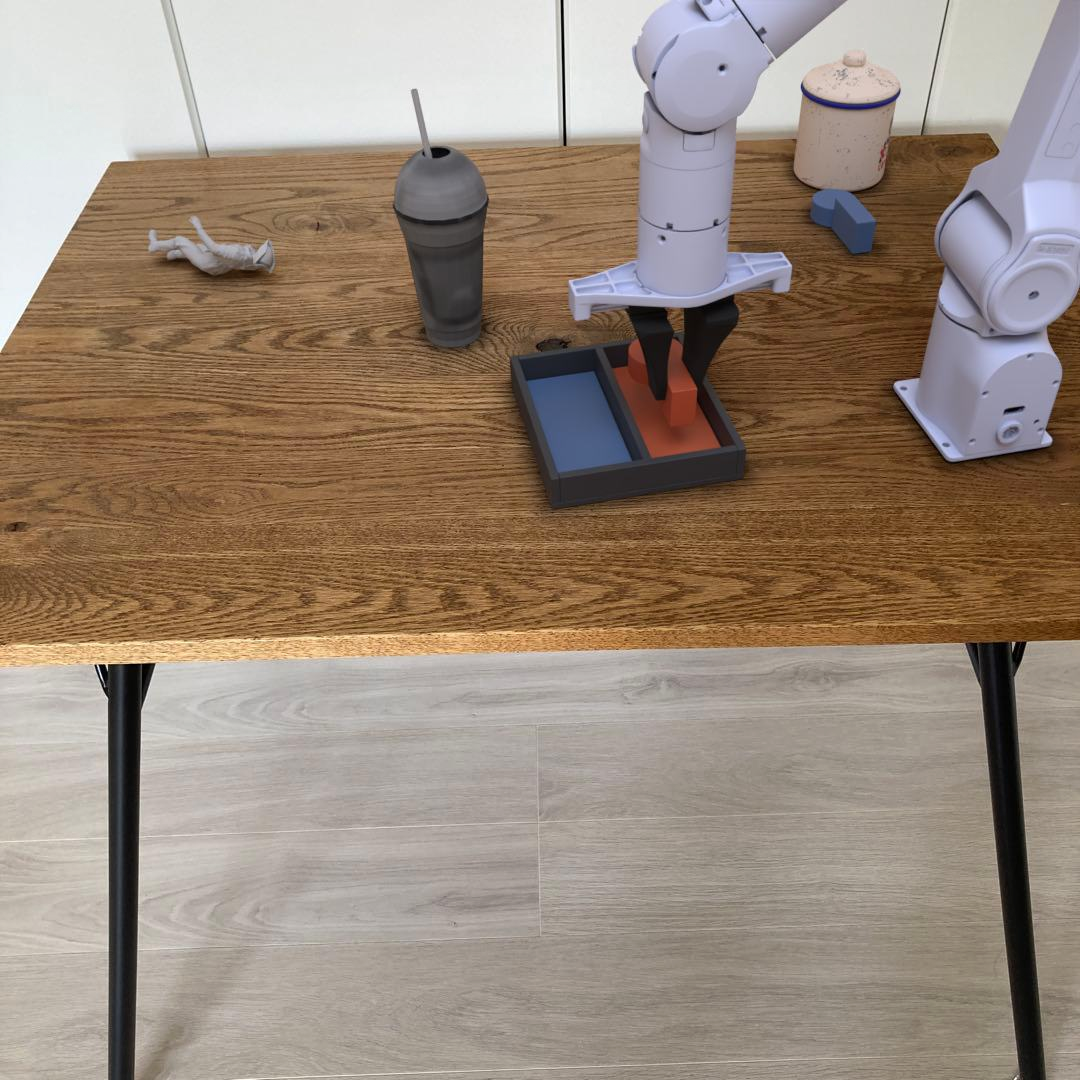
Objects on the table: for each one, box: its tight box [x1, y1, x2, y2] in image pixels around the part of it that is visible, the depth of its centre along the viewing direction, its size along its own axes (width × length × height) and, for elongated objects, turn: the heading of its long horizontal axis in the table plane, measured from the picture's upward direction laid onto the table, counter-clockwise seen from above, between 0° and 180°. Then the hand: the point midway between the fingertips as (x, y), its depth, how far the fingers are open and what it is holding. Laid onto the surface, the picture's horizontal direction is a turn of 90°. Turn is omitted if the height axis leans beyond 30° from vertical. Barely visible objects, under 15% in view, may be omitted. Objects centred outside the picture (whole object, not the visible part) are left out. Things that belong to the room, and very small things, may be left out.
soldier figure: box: [148, 215, 276, 276], centre depth 104 cm, size 8×5×12 cm
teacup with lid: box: [793, 49, 902, 193], centre depth 113 cm, size 12×9×12 cm
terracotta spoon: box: [628, 339, 697, 427], centre depth 84 cm, size 9×4×3 cm, turn 12°
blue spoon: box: [809, 189, 877, 255], centre depth 106 cm, size 9×4×3 cm, turn 12°
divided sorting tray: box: [509, 331, 747, 510], centre depth 86 cm, size 15×14×3 cm
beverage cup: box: [392, 88, 490, 348], centre depth 90 cm, size 7×7×20 cm
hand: (674, 389), depth 82 cm, fingers closed on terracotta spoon, 2 cm apart
